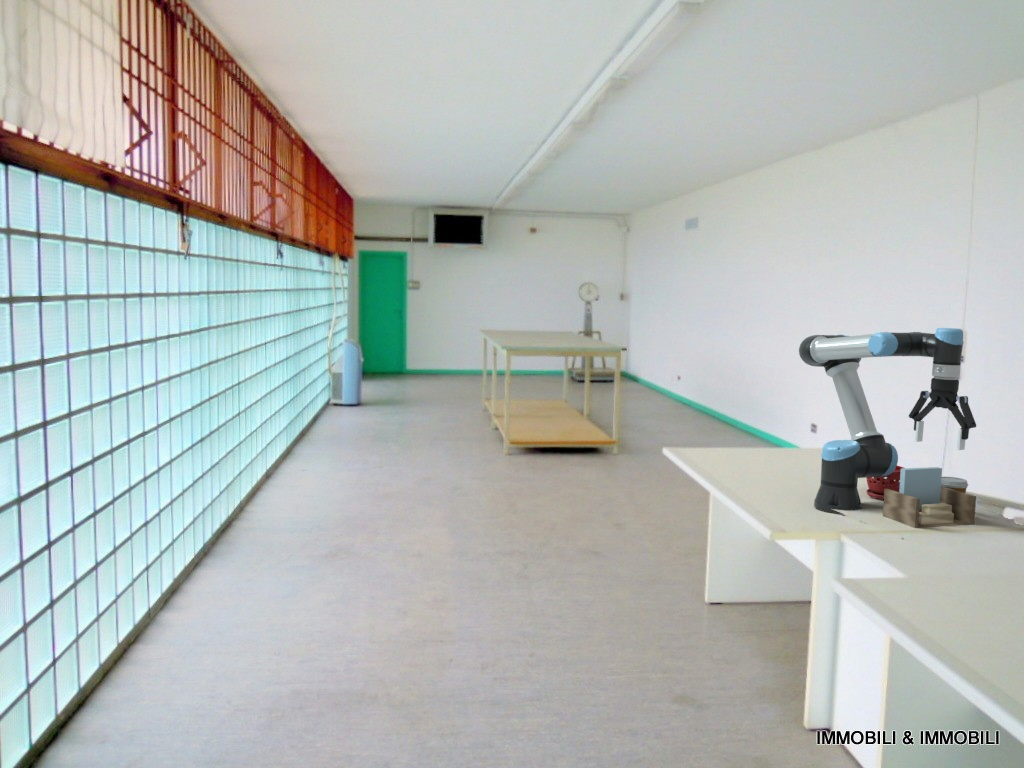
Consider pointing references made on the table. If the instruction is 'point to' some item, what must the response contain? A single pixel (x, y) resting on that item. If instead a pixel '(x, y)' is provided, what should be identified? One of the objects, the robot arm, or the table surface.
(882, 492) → the plant pot
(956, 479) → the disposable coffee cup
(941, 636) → the table surface
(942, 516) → the offcut stack
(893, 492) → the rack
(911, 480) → the panel
